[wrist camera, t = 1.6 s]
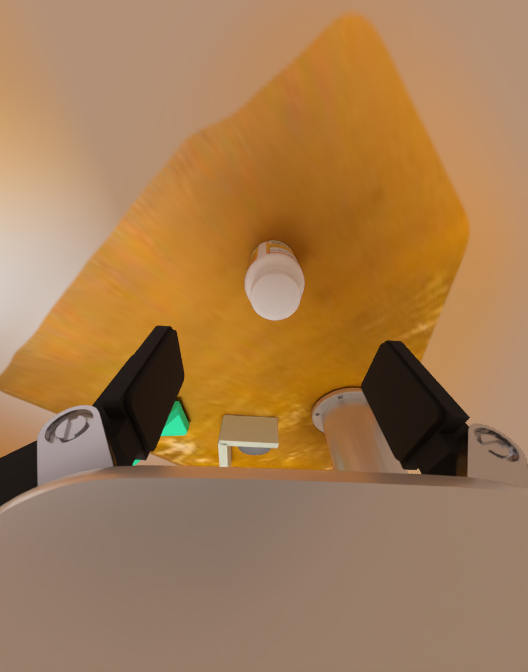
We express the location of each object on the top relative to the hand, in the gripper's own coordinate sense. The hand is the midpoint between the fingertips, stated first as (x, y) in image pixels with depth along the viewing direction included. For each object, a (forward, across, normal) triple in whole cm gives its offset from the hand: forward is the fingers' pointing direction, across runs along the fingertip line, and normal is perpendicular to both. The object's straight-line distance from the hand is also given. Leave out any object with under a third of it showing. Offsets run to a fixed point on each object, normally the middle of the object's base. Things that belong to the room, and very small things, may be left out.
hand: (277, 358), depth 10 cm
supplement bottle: (+18, 0, +1) cm, 18 cm away
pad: (+17, 0, +39) cm, 42 cm away
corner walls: (+17, +1, +37) cm, 41 cm away
